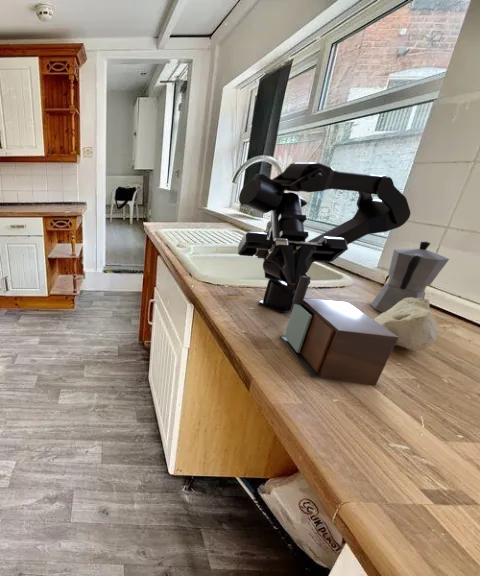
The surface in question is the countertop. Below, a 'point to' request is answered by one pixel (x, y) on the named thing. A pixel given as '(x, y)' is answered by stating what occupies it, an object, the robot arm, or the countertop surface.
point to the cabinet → (343, 343)
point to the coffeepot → (409, 275)
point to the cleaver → (298, 316)
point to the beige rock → (410, 323)
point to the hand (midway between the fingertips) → (292, 283)
